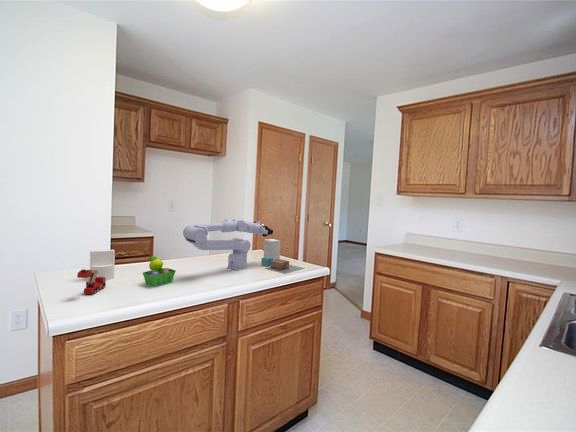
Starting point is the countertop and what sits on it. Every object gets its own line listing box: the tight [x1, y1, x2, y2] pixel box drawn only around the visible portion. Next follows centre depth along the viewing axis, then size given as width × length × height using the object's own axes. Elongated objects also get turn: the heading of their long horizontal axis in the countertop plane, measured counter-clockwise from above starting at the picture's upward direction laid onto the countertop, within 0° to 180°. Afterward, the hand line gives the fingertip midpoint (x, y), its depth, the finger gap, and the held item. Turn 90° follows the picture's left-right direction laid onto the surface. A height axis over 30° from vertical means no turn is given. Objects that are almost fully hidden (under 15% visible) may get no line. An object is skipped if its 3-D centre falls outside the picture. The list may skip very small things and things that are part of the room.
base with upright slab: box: [89, 249, 116, 281], centre depth 131 cm, size 9×9×12 cm
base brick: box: [270, 258, 290, 271], centre depth 162 cm, size 7×7×4 cm
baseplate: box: [264, 264, 306, 275], centre depth 162 cm, size 18×14×1 cm
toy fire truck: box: [76, 268, 107, 295], centre depth 113 cm, size 3×14×10 cm, turn 5°
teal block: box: [260, 256, 273, 268], centre depth 167 cm, size 4×4×5 cm
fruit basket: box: [142, 255, 177, 288], centre depth 128 cm, size 11×9×11 cm
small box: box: [263, 238, 281, 260], centre depth 181 cm, size 8×6×13 cm
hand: (267, 230), depth 174 cm, fingers open, 7 cm apart
